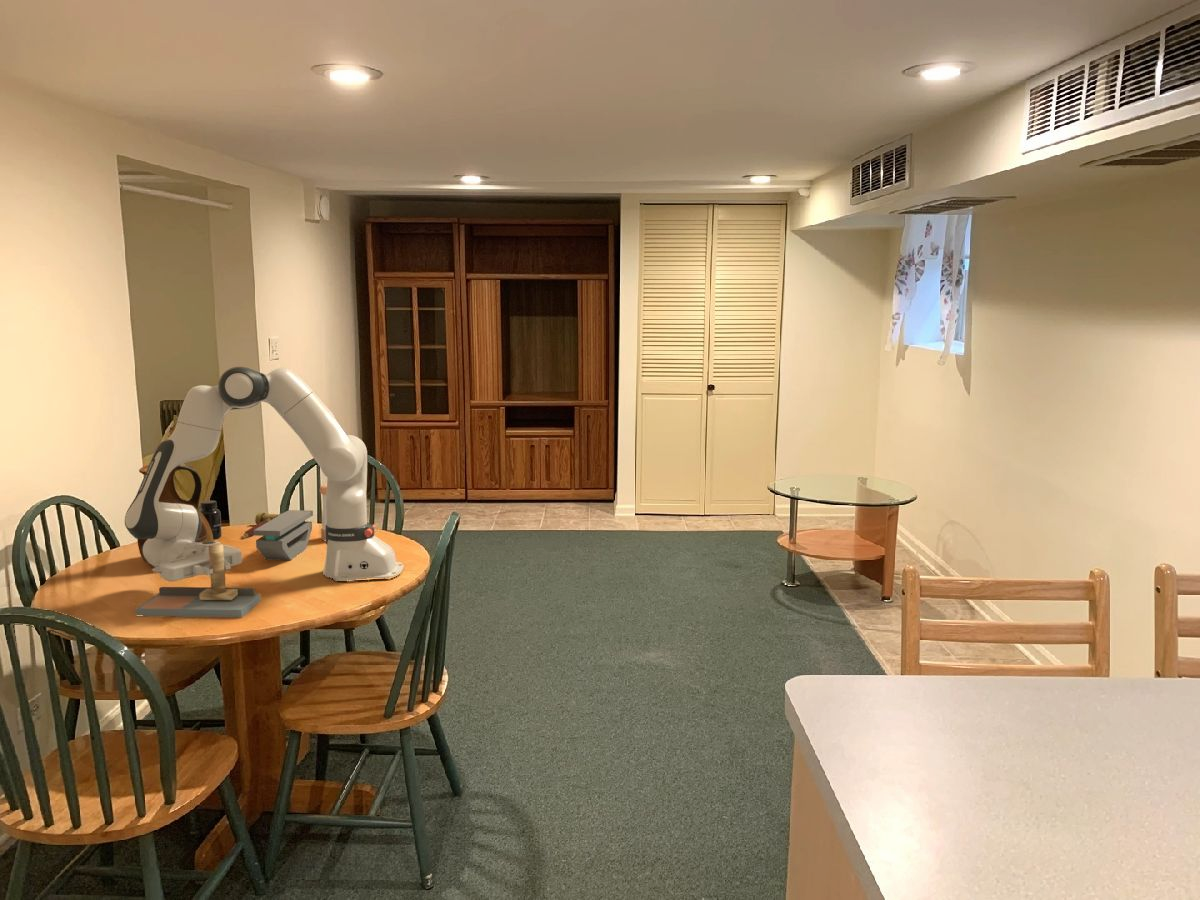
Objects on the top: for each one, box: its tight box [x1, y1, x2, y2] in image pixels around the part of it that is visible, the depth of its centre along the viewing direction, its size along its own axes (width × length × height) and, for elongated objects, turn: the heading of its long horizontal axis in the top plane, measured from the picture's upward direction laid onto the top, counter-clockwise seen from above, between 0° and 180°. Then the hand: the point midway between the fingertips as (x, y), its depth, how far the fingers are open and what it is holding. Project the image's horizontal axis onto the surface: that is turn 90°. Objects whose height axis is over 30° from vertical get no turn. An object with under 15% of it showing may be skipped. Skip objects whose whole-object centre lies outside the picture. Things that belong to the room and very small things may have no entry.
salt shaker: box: [319, 483, 327, 541], centre depth 285 cm, size 7×7×19 cm
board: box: [135, 586, 261, 618], centre depth 221 cm, size 26×12×4 cm, turn 90°
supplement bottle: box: [199, 500, 223, 540], centre depth 285 cm, size 7×7×12 cm
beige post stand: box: [199, 543, 238, 600], centre depth 221 cm, size 8×4×14 cm, turn 90°
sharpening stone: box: [254, 509, 314, 561], centre depth 268 cm, size 25×8×11 cm, turn 177°
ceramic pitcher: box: [136, 463, 214, 564], centre depth 259 cm, size 20×20×30 cm
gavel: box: [242, 512, 282, 540], centre depth 295 cm, size 21×5×10 cm
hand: (219, 569), depth 221 cm, fingers closed on beige post stand, 3 cm apart
